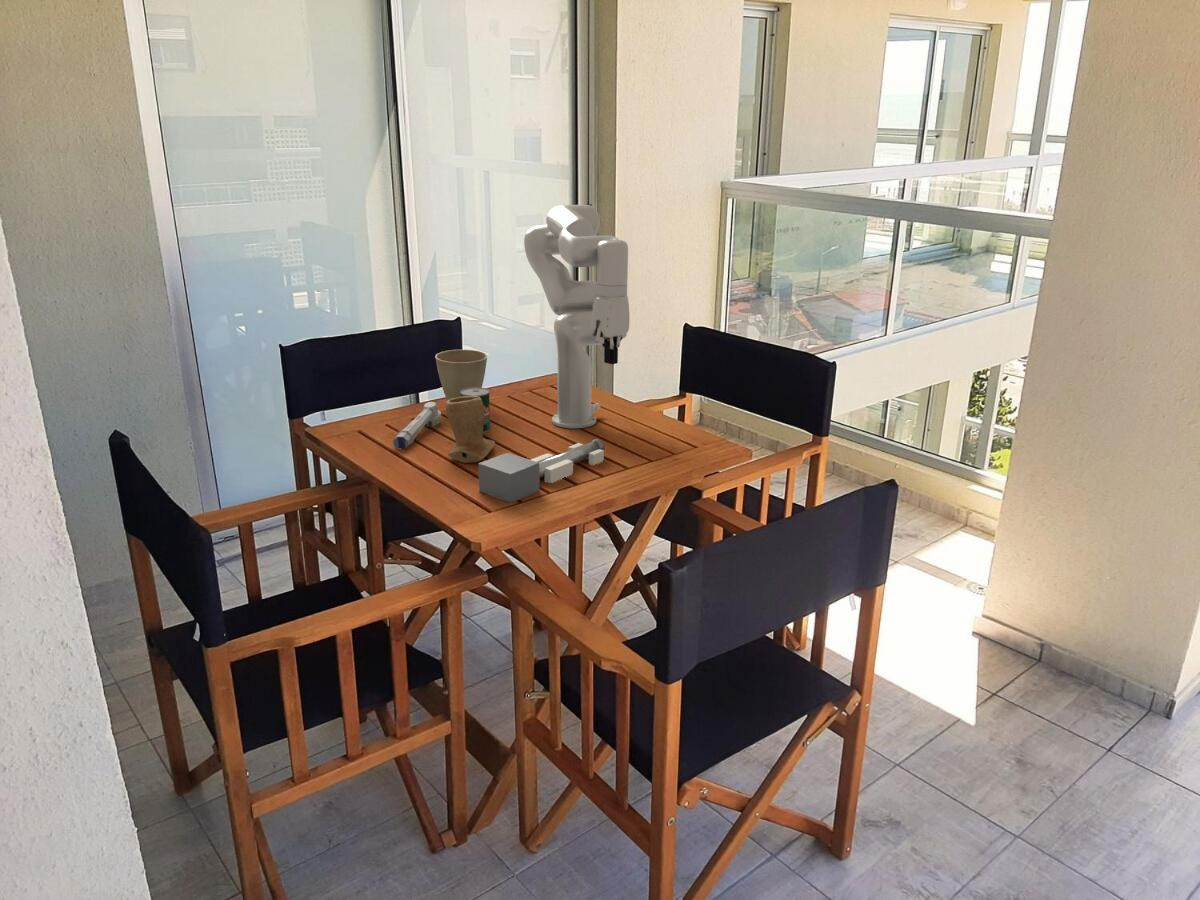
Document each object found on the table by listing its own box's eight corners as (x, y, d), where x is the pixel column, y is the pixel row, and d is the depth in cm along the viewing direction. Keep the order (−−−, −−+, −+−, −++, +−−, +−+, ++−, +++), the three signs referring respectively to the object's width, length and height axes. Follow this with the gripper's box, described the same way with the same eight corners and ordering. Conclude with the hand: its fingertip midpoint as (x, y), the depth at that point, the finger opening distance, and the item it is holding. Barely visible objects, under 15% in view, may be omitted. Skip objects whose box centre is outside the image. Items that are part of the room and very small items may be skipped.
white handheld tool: (389, 435, 242) (424, 395, 264) (392, 458, 245) (427, 417, 267) (408, 437, 241) (442, 397, 263) (411, 459, 245) (444, 418, 266)
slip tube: (592, 451, 243) (592, 437, 242) (604, 455, 241) (604, 440, 239) (528, 477, 226) (528, 461, 224) (541, 481, 223) (541, 465, 222)
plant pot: (428, 412, 273) (425, 358, 268) (452, 398, 286) (450, 347, 281) (474, 418, 268) (472, 364, 263) (496, 404, 282) (495, 352, 276)
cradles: (578, 453, 242) (578, 441, 241) (603, 461, 237) (603, 448, 236) (525, 475, 228) (525, 461, 227) (550, 483, 223) (550, 470, 222)
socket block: (508, 480, 225) (507, 452, 222) (539, 490, 219) (539, 462, 216) (479, 491, 218) (478, 463, 215) (510, 502, 212) (510, 474, 209)
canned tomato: (488, 434, 256) (487, 395, 252) (459, 433, 256) (458, 395, 252) (492, 425, 263) (491, 387, 259) (464, 424, 263) (462, 386, 259)
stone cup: (456, 443, 249) (454, 388, 244) (499, 446, 247) (498, 391, 242) (436, 462, 235) (434, 405, 230) (482, 466, 233) (480, 409, 228)
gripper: (619, 285, 240) (618, 355, 246) (580, 292, 229) (580, 365, 235) (642, 289, 235) (640, 360, 241) (603, 296, 225) (602, 371, 231)
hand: (610, 362), depth 238 cm, fingers closed
